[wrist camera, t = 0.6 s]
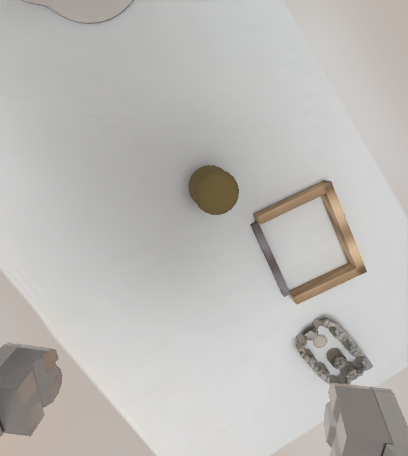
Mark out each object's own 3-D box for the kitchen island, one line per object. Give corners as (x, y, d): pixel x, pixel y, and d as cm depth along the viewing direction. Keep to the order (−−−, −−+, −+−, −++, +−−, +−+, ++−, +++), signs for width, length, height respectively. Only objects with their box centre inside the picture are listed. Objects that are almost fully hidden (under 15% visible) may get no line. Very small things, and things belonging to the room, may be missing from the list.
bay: (247, 217, 50) (250, 220, 47) (323, 180, 50) (331, 181, 47) (285, 300, 53) (290, 307, 50) (358, 266, 52) (366, 271, 50)
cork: (221, 158, 48) (232, 156, 37) (237, 197, 49) (252, 207, 38) (181, 175, 48) (181, 179, 37) (199, 214, 49) (203, 229, 39)
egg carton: (287, 338, 54) (295, 352, 50) (325, 308, 54) (336, 320, 50) (327, 383, 56) (338, 400, 52) (364, 354, 55) (378, 369, 51)
